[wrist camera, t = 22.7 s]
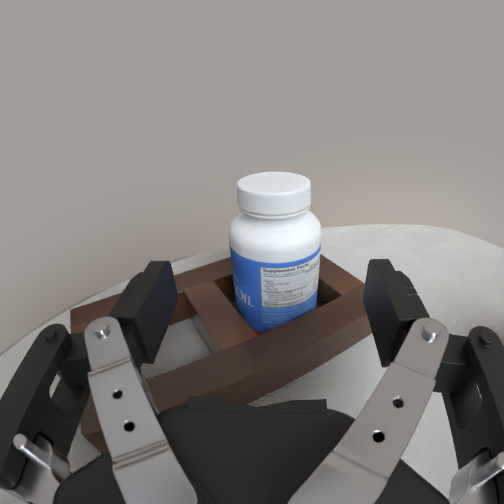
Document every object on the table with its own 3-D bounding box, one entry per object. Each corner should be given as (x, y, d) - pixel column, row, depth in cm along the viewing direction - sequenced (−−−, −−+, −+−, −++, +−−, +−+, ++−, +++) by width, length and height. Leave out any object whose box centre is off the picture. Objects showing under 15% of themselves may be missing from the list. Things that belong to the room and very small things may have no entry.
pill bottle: (233, 299, 23) (220, 172, 18) (301, 288, 23) (304, 165, 19) (244, 351, 18) (228, 202, 13) (325, 336, 19) (340, 191, 14)
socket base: (380, 327, 19) (388, 299, 18) (104, 456, 11) (82, 435, 10) (293, 260, 27) (293, 236, 26) (82, 334, 20) (70, 309, 18)
